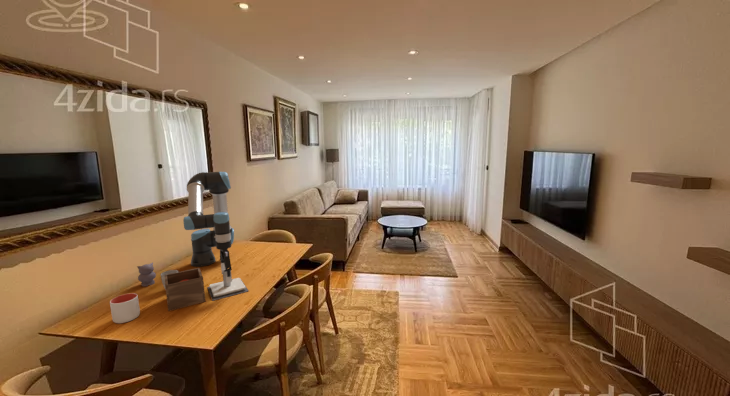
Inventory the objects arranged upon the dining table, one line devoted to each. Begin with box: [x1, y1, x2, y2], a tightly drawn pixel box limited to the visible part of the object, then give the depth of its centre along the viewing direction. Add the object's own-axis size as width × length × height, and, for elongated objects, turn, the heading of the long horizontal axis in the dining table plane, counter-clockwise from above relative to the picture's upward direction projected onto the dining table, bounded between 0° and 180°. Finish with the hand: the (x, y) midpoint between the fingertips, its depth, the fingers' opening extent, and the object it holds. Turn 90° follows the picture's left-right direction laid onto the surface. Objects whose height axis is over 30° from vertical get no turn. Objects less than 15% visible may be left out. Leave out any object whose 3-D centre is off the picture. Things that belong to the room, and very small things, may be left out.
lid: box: [209, 270, 247, 297], centre depth 164 cm, size 16×16×11 cm
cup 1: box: [109, 292, 141, 324], centre depth 136 cm, size 10×10×10 cm
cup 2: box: [160, 269, 179, 291], centre depth 165 cm, size 8×8×10 cm
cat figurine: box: [136, 262, 157, 287], centre depth 172 cm, size 8×8×12 cm
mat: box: [206, 279, 250, 302], centre depth 165 cm, size 19×18×1 cm
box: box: [164, 267, 206, 312], centre depth 153 cm, size 16×16×13 cm
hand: (226, 277), depth 164 cm, fingers open, 13 cm apart
